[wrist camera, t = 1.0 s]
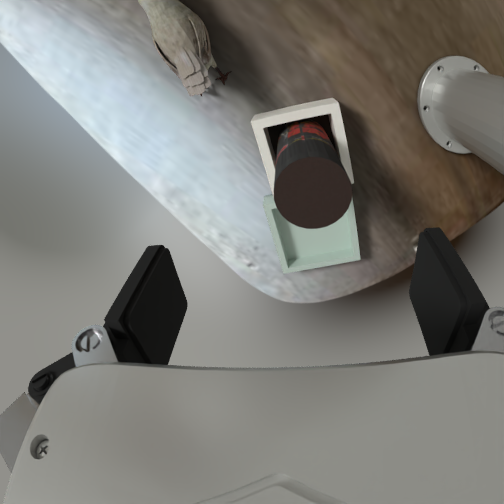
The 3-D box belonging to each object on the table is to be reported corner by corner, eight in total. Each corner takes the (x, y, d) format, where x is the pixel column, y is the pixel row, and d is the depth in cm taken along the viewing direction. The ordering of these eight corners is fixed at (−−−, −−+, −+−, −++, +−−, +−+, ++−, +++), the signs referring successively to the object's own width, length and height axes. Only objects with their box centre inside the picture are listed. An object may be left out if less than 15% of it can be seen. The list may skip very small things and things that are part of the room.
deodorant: (338, 147, 35) (366, 202, 23) (298, 175, 38) (304, 241, 25) (307, 108, 33) (322, 140, 21) (267, 138, 36) (256, 187, 23)
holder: (332, 97, 32) (338, 102, 29) (348, 170, 37) (354, 183, 33) (254, 115, 34) (250, 121, 31) (275, 185, 39) (274, 199, 36)
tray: (347, 179, 37) (350, 187, 35) (357, 249, 43) (360, 259, 41) (264, 196, 40) (262, 204, 38) (283, 262, 45) (283, 273, 43)
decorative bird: (176, -28, 24) (152, -44, 18) (239, 78, 32) (228, 82, 26) (138, -4, 26) (107, -13, 20) (198, 98, 34) (178, 109, 27)
